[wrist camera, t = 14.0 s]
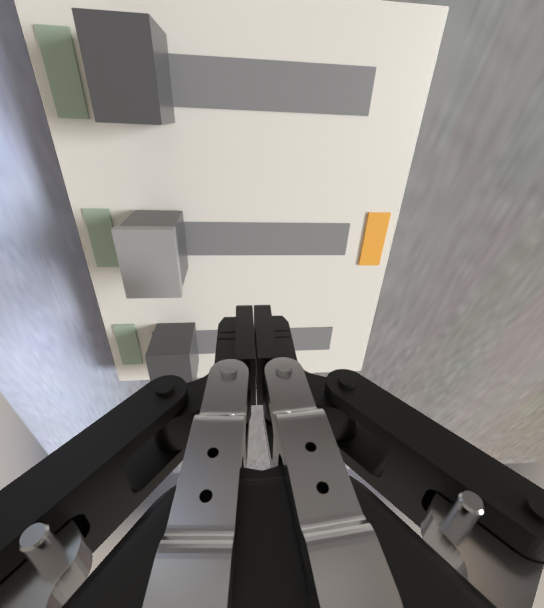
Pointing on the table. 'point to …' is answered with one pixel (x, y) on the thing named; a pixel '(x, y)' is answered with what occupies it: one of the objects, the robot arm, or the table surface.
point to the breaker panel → (237, 158)
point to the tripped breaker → (152, 254)
